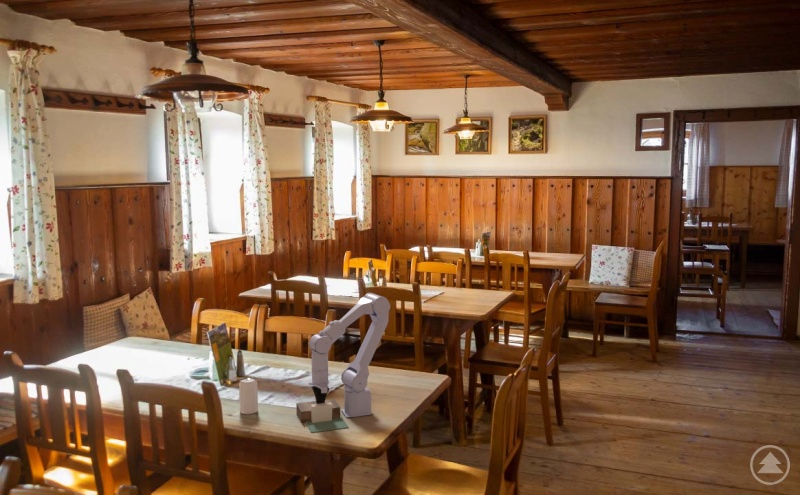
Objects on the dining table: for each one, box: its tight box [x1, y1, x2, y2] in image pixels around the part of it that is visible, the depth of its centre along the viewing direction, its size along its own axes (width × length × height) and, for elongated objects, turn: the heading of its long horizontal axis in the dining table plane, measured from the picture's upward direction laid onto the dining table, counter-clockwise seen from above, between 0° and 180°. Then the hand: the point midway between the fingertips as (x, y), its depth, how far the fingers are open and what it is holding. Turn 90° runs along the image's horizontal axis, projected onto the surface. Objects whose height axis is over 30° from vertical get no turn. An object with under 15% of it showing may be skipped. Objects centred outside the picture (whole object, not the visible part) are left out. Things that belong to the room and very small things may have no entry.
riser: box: [295, 398, 341, 424], centre depth 239 cm, size 14×9×4 cm, turn 109°
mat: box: [305, 416, 350, 434], centre depth 231 cm, size 13×10×1 cm
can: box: [238, 376, 259, 416], centre depth 243 cm, size 6×6×12 cm
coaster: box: [311, 402, 332, 423], centre depth 233 cm, size 7×6×2 cm
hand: (320, 406), depth 235 cm, fingers closed
